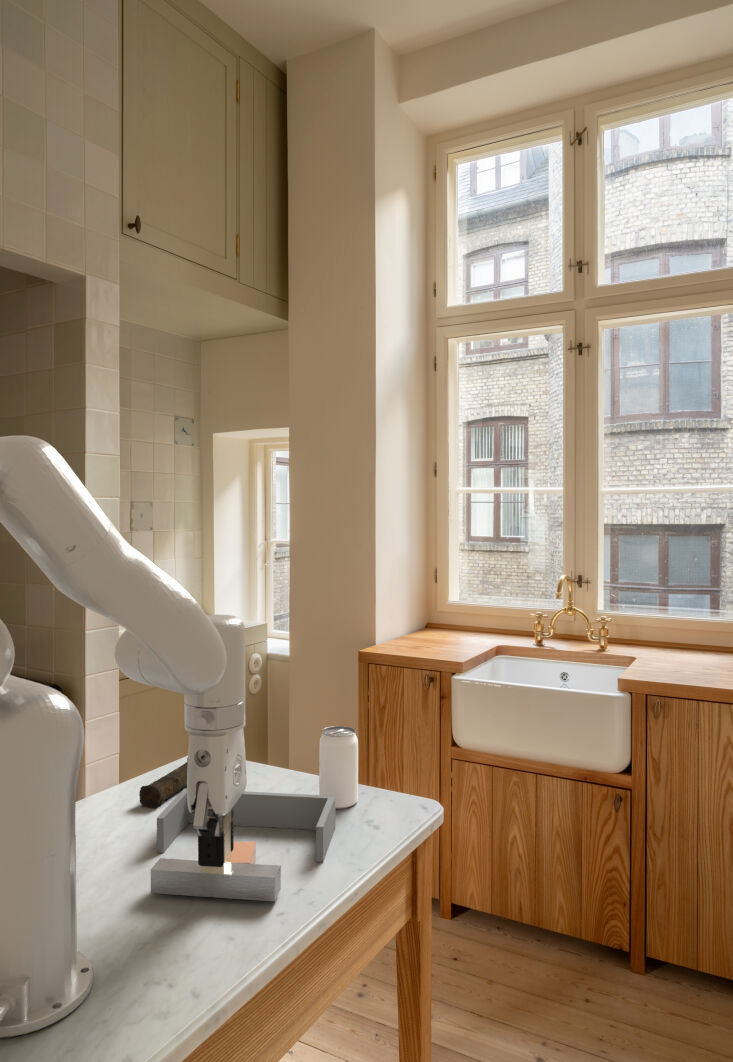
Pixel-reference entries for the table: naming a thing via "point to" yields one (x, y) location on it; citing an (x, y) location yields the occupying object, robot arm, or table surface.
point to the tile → (244, 852)
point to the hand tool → (163, 787)
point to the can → (339, 765)
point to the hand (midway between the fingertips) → (216, 856)
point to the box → (260, 816)
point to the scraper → (217, 876)
